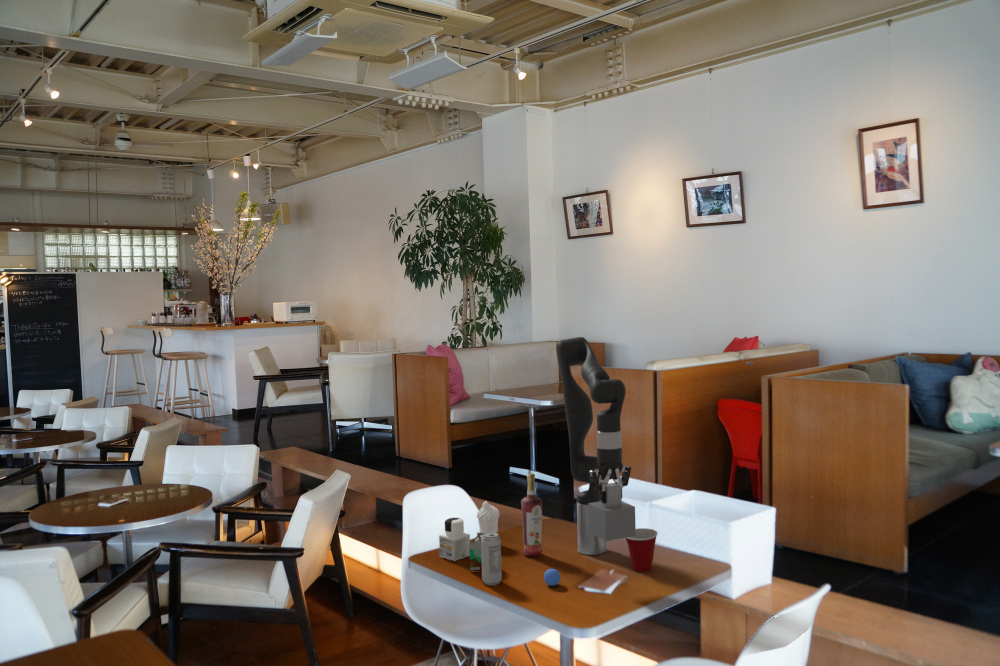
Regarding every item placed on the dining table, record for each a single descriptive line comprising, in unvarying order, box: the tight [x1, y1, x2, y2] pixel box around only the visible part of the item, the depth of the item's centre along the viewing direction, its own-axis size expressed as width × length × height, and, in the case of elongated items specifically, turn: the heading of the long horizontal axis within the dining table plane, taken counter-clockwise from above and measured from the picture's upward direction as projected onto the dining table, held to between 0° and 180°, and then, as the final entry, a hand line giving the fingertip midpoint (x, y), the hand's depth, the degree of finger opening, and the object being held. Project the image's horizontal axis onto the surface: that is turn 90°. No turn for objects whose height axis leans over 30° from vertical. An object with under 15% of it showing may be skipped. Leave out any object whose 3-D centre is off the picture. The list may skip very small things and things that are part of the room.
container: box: [438, 517, 471, 562], centre depth 253 cm, size 8×8×13 cm
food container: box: [469, 531, 485, 572], centre depth 241 cm, size 12×6×10 cm, turn 168°
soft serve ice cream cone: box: [476, 500, 500, 533], centre depth 265 cm, size 8×8×16 cm
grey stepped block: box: [588, 482, 637, 542], centre depth 221 cm, size 10×10×15 cm
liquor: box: [520, 473, 543, 557], centre depth 252 cm, size 7×7×28 cm
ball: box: [543, 568, 561, 587], centre depth 223 cm, size 5×5×5 cm
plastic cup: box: [625, 527, 659, 573], centre depth 235 cm, size 11×11×12 cm
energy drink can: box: [481, 532, 503, 586], centre depth 227 cm, size 6×6×15 cm
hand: (610, 501), depth 221 cm, fingers closed on grey stepped block, 4 cm apart
